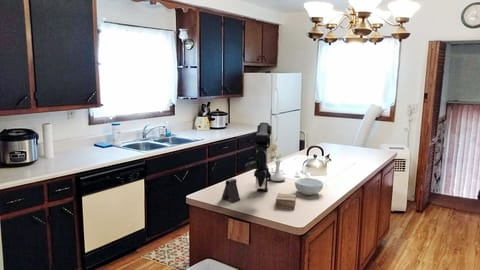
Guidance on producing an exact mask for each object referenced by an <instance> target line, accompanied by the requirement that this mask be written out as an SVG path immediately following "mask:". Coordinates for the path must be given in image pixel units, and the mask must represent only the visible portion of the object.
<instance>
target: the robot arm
mask: <svg viewBox="0 0 480 270" xmlns="http://www.w3.org/2000/svg"><path fill="white" fill-rule="evenodd" d="M272 129H273V128H272V125H270V124H269V122H260V123H259V124H258V125H257V129H256V131H257V132H256V135H255V136H254V149H256V152H255V154H254V158H255V160H253V161H250V162H247V163H245V165H244V166H245V169H246V172H247V171H250V170H254V172H253V177H255V178H256V177H257V178H258V183H259V187H261V186H262V184H263V182H264V180H265V177H266V181H265V189H259V188H256V192H262V193H263V192H264V193H268V192H269V188H268V182H269V183H270V182H271V181H272V180H271V174H272V173H271V172H270V169H269V166H268V149H269V147H271V135H272Z"/></svg>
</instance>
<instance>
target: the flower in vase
mask: <svg viewBox="0 0 480 270" xmlns="http://www.w3.org/2000/svg"><path fill="white" fill-rule="evenodd" d="M277 149H278V145H277V144H275V143H274V144H272V145H270V147H269V148H267V154H273V153H274V154H276V153H275V152H276V151H277ZM281 157H282V155H281V154H279V155H277V156H276V155H273V156H270V158H269V159H271V160H274V161H273V162H274V164H275V171H274V172H273V173H270V174H271V181H274V182H283V181H285V180H286V175H284V174H283V173H282V172H281V171H280V166H281V165H280V164H281V163H282V159H280V158H281Z"/></svg>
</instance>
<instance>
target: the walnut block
mask: <svg viewBox="0 0 480 270" xmlns="http://www.w3.org/2000/svg"><path fill="white" fill-rule="evenodd" d="M276 195H277V196H276V198H275V208H280V209H290V210H295V209H296V208H295V207H296V201H297V194H292V193H291V194H289V193H282V192H280V193H279V192H278V193H277V194H276Z"/></svg>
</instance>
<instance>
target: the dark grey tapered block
mask: <svg viewBox="0 0 480 270" xmlns="http://www.w3.org/2000/svg"><path fill="white" fill-rule="evenodd" d="M222 199H223V201H225V200H226V201H225V202H228V201H229V202H228V203H231V202H233V203H234V204H235V203H236V202H239V200H240V201H241V197H240V194H239V189H238V185H237V178H229V179H226V181H225V186H224V189H223V194H222V195H221V200H222ZM233 203H232V204H233Z"/></svg>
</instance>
